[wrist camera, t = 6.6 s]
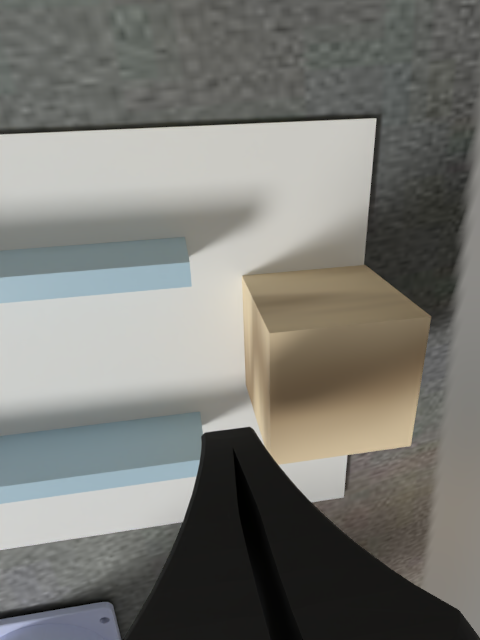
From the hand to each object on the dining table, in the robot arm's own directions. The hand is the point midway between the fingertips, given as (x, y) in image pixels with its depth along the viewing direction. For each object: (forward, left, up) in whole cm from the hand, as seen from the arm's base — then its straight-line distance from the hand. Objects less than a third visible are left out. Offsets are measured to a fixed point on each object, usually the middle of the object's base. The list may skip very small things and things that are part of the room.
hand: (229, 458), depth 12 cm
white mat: (-1, +5, -7) cm, 9 cm away
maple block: (0, -4, -7) cm, 8 cm away
